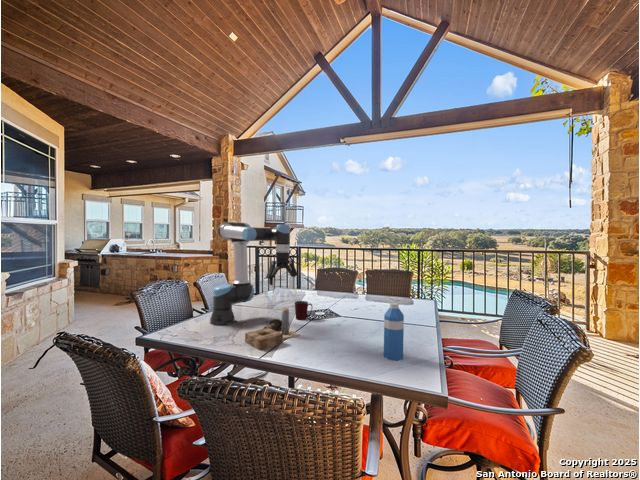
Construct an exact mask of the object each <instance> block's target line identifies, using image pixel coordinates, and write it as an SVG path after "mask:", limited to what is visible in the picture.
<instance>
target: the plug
mask: <svg viewBox="0 0 640 480" xmlns="http://www.w3.org/2000/svg"><path fill="white" fill-rule="evenodd" d="M281 320H282V326H281V330H282V334H283V335H288V334H289V330H290V309H289V308H287V307H285V308H284V307H283V308H281Z"/></svg>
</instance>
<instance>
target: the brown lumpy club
mask: <svg viewBox="0 0 640 480" xmlns="http://www.w3.org/2000/svg"><path fill="white" fill-rule="evenodd" d="M264 328H270V329H272V330H275V331H276V330H279V329H282V319H278V318H274V319H271V320H269V323H268V325H266V326H264V327H262V329H264Z"/></svg>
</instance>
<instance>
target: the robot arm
mask: <svg viewBox="0 0 640 480" xmlns="http://www.w3.org/2000/svg"><path fill="white" fill-rule="evenodd" d="M290 227H291V226H290V225H289V224H277V225H276V227H255V226H254V227H251V225H250V224H249V223H246V222H230V221H228V222H227V221H226V222H222V223H220V224H219V225H218V227H217V228H216V229H217V230H216V233H217V235H218V237H219V238H220V239H223V240H228V241H229V240H230V243H231V244H232V245H233V256H234V257H233V260H234V262H233V264H234V281H233V282H232V284H230V283H228V284H221V285H217V286H215V287H214V288H213V291H212V313H211V315H210V318H209V323H210V324H211V325H214V326H222V325H223V326H225V325H230V324H233V323H234V322H235V321H236V320H235V318H236V317H235V315H234V312H233V305H234V304H235V305H236V304H240V303H241V304H242V303H247V302H250V301H251V300H252V299H253V297H254V296H255V295H254V294H255V287H254V285H253V284H251V281H250V280H249V275H248V274H249V273H248V272H249V271H248V269H249V268H248V244H249V243H250V242H259V241H260V242H261V241H262V242H269V241H271V242H272V241H273V242H275V251H276V253H275V259H276V260H271V262H270V263H271V264H270V267H269V268H268V270H267V273H266V275H265V278H266V279H268V280H269V281H268V283H269V287H270V288H269V289H270V291H271V292H275V276H276V275H277V274H278V272H279V270H281V269H282V270H283V269H285V270H286V271H287V273H289V275H290V276H289V289H294V283H295V278H296V277H297V276H298V271H297V269H296V266H295V264H294V259H293V260H292V259H290V249H291V247H290V243H291V242H290V240H291V239H290V238H291V228H290Z"/></svg>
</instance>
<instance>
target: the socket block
mask: <svg viewBox="0 0 640 480" xmlns="http://www.w3.org/2000/svg"><path fill="white" fill-rule="evenodd" d="M263 328H264V327H263ZM263 328H261V329H256V330H253V331H248V332H245V333H244V342H245V344H247V345H249V346H251V347H253V348H255V349H256V350H258V351H262V350H265V349H268V348H272V347H275V346H279V345H282V344H283V343H284V342H283V341H284V340H283V334H282V333H280V332H278V331H277V330H276V329H275V330H272V329H270V328H264V329H263Z"/></svg>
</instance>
